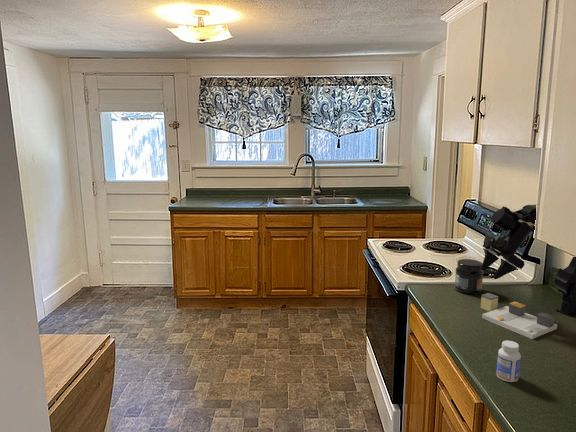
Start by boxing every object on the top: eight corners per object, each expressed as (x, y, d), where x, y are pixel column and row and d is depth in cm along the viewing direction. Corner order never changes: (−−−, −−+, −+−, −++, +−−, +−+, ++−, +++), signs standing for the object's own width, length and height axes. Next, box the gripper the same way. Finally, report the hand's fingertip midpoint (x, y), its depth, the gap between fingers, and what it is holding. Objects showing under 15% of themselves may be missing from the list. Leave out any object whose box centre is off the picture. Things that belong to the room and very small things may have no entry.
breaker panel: (506, 309, 160) (506, 305, 160) (556, 328, 145) (557, 323, 144) (481, 318, 153) (482, 313, 153) (532, 339, 138) (532, 333, 137)
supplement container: (486, 290, 179) (488, 262, 176) (474, 297, 172) (477, 268, 169) (461, 283, 186) (463, 256, 184) (449, 290, 179) (451, 262, 177)
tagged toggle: (513, 310, 155) (514, 301, 155) (524, 314, 152) (525, 305, 151) (508, 311, 154) (509, 303, 153) (519, 316, 150) (520, 307, 150)
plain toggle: (541, 320, 147) (542, 312, 146) (554, 325, 143) (555, 316, 143) (536, 322, 145) (537, 314, 145) (548, 327, 142) (549, 318, 141)
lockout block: (487, 305, 164) (488, 292, 163) (497, 309, 160) (498, 296, 159) (480, 307, 162) (481, 294, 161) (490, 311, 158) (491, 298, 157)
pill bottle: (511, 371, 120) (515, 338, 118) (522, 382, 114) (526, 348, 113) (492, 371, 120) (495, 339, 118) (502, 383, 114) (505, 349, 112)
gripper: (484, 220, 159) (459, 255, 162) (511, 231, 141) (482, 271, 144) (508, 235, 161) (482, 270, 163) (537, 249, 143) (508, 288, 145)
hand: (488, 274), depth 154 cm, fingers open, 9 cm apart
